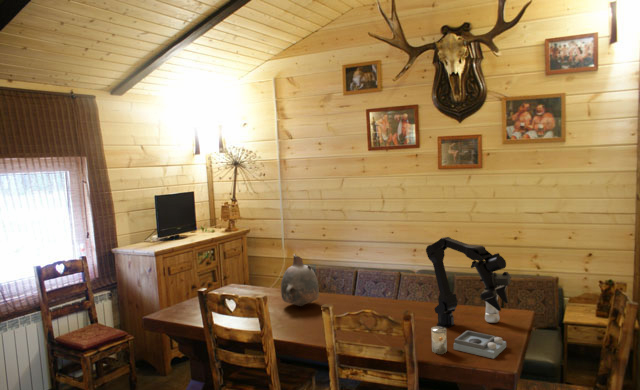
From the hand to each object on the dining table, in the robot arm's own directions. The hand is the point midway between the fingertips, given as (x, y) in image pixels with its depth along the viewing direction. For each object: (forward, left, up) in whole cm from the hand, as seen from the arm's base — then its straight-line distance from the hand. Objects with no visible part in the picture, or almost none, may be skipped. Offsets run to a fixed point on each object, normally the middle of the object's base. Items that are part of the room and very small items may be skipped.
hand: (503, 306), depth 206 cm
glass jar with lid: (-17, -27, -15) cm, 35 cm away
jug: (-111, -12, -15) cm, 112 cm away
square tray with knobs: (-5, -14, -15) cm, 21 cm away
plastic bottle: (-13, +19, -15) cm, 28 cm away
